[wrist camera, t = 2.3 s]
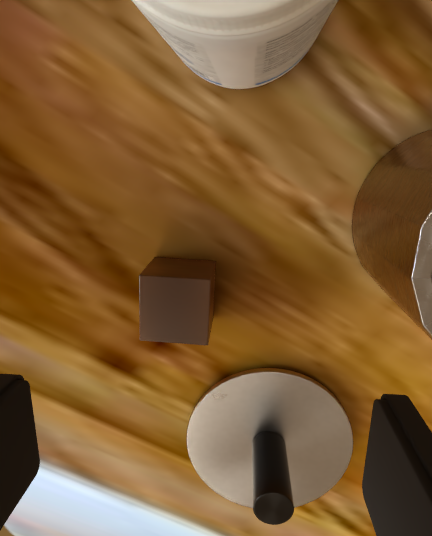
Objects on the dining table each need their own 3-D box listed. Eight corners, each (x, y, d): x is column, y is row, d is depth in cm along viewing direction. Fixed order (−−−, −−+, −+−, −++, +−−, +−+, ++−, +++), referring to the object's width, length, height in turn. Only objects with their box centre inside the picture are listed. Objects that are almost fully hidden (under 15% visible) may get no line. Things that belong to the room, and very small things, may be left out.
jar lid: (186, 490, 34) (172, 573, 28) (190, 357, 31) (175, 415, 24) (338, 504, 34) (361, 593, 27) (360, 370, 30) (393, 433, 23)
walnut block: (154, 313, 30) (139, 340, 26) (154, 256, 29) (138, 275, 24) (213, 317, 30) (207, 345, 25) (216, 260, 28) (210, 279, 24)
